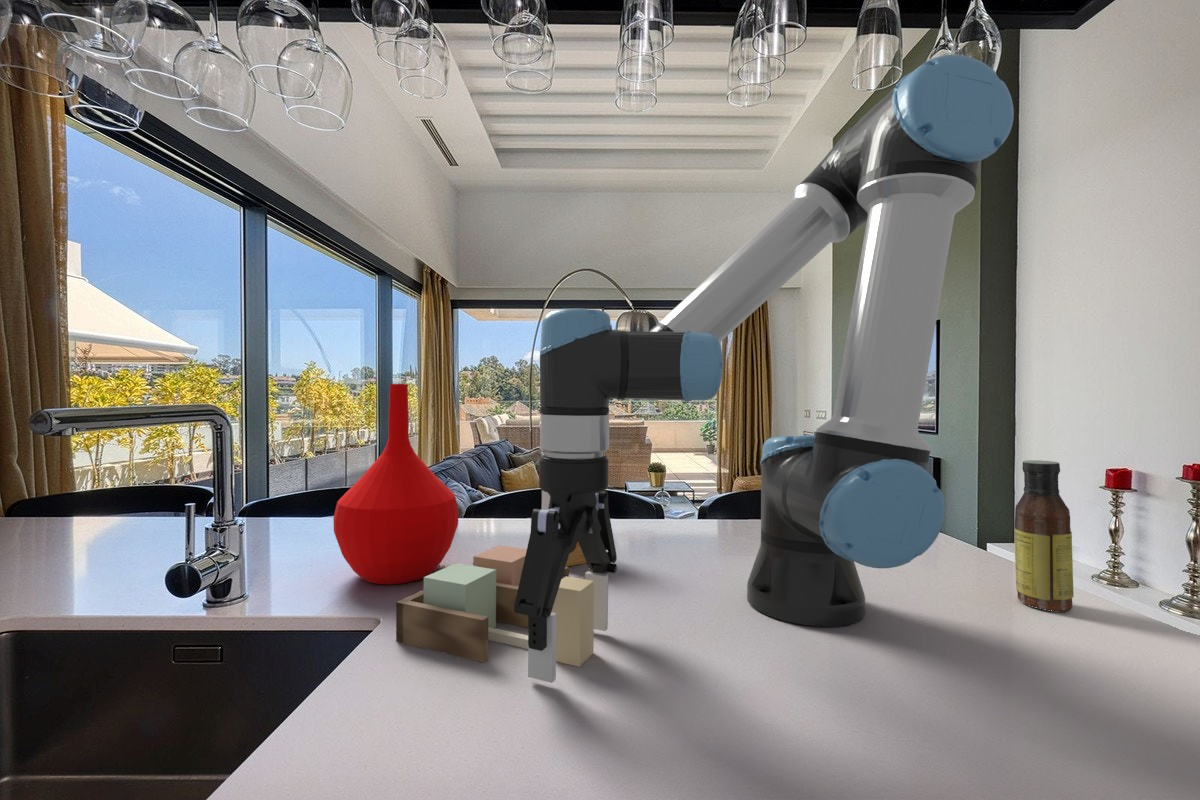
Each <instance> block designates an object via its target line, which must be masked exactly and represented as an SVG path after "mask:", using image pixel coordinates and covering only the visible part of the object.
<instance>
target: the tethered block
mask: <svg viewBox="0 0 1200 800" xmlns="http://www.w3.org/2000/svg"><path fill="white" fill-rule="evenodd" d="M423 590H424V604H428V605H433V606H438V607H443V608H448V609H452V610H457V611H462V612H467V613H472V614H477V615H482V616H486V617H488V641H492V642H495V643H500V644H504V643H505V645H509V646H513V647H517V648H523V649H526V650H528V635H527V634H522V633H517V632H515V631H514V632H513V631H508V630H504V629H500V628H496V627H497V621H496V569H490V568H484V567H477V566H473V565H470V564H464V563H458V562H456V563H453V564H451V565H449V566H446V567H444V568H441V569H439V570H437V571H435V572H433V573H432V572H431V573H430V574H429V575H427V576H425V577H424V578H423ZM552 613H556V663H557V662H558V663H562V664H566V665H569V666H570V665H571V666H575V667H578V668H580V667H581V666H583V664H584V663H585V662H586V661H587V660H588V659H589V658H590V657H591V656H592V655H593V654H594V643H595V642H594V633H595V631H594V630H595V629H594V581H592V580H586V579H585V578H578V577H572V576H569V577H567V576H566V577H564V578H563V579H561V582H560V586H559V589H558V592H557V595H556V599H555V602H554V605H553V608H552Z"/></svg>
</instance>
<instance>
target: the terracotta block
mask: <svg viewBox="0 0 1200 800" xmlns="http://www.w3.org/2000/svg"><path fill="white" fill-rule="evenodd" d="M526 551H527V548H521V547H514V546H507V545H500V544H499V545H497V546H494V547H492V548H490V549H487V550H485V551H483V552H480V553H478V554H476V555H473V557H472V558H473V559H472V560H473V561H472V562H473V563H472V564H473V565H472V566H477V567H484V568H490V569H496V582H497V583H503V584H509V585H514V586H519V583H520V578H521V574H522V569H523V565H524V560H525V556H526Z"/></svg>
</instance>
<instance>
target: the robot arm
mask: <svg viewBox="0 0 1200 800" xmlns="http://www.w3.org/2000/svg"><path fill="white" fill-rule="evenodd" d="M1014 112H1015V111H1014V104H1013V99H1012V95H1011V93H1010V91H1009V89H1008V86H1007V84H1006V82H1004V81H1003V80H1002V79H1001V78H999V76H998V75H997V72H996V71H995V70H994V69H993V68H992V67H990V66H989V65H988V64H987V63H985V62H983V61H981V60H979V59H976V58H974V57H971V56H968V55H964V54H963V55H962V54H944V55H939V56H936V57H934V58H930V59H929V60H927V61H925V62H923V63H922V64H921V65H919V66H918V67H917V68H916V69H914V70H913V71H911V72H909V73H907V74H905V75H904V76H903V77H902V78H901V79H899V81H898V82H897V84H896V85H895V86H894V87H893V89H891V91H890V92H889V93H887V94H886V95H885V96H884V97H883V98H882V99H881V100H880V101H879V102H878V103H877V102H876V104H875V105H874V106H873V107H871V108H870V109H869V110H868V111H867V112H865V114H864V115H863V116H862V117H861V118H860V119H859V120H858V121H856V122H855V123H854V124H852V125H851V127H850V128H848V130H846V132H844V134H843V135H842V136H841V137H840V139H839V140H838V141H836V143H835V144H834V146H833V147H832V148H831V149H830V151H829V152H828V153H827V154H826V156H825V157H824V158H823V159H822V160H821V161H820V162H819V163H818V165H817V166H815V168H814V169H813V170H812V171H811V173H810V174H809V175H807V176H806V177H805V178H804V179H803V180H802V181H801V182H800V183H799V184H798V185H797V186H796V187H795V188H794V189H793V191H792V193H791V201H790V202H789V203H788V204H787V205H785V207H784V208H783V209H782V210H780V211H779V212H778V213H777V214H776V215H775V216H774V217H773V218H772V219H770V220H769V221H768V222H767V223H766V224H765V225H764V226H763V227H762V228H761V229H760V230H758V231H757V232H756V233H755V234H754V235H753V236H752V237H751V238H749V240H747V241H746V242H745V243H744V244H743V245H742V246H741V247H740V248H739V249H738V250H736V251H735V252H734V253H733V254H732V255H731V256H730V257H729V258H728V259H726V261H724V263H723V264H721V265H720V266H719V267H717V269H716V270H714V272H712V273H711V274H710V275H709V276H708V277H707V278H706V279H705V280H703V281H702V282H701V283H700V284H699V285H698V286H697V287H696V288H694V289H693V290H692V291H691V292H690V293H689V294H688V295H687V296H686V297H685V298H684V299H683V300H681V302H680V303H678V304H677V305H676V306H675V307H674V308H673V309H672V310H670V311H669V313H667V315H665V316H664V317H663V318H661V320H659V322H657V324H656V325H655V326H653V327H652V328H651V329H650V330H649V331H625V330H619V329H613V326H612V324H611V317H610V315H609V314H608V313H607V312H606V311H603V310H600V309H587V308H575V307H574V308H560V309H555V310H552V311H549V312H548V313H547V314H546V315H545V316H544V317H543V319H542V321H541V335H540V348H539V349H540V351H539V413H540V414H539V415H540V416H539V419H540V420H539V423H538V429H539V449H540V450H541V451H542V452H545V453H544V454H543V455H541V456H540V458H539V459H538V487H539V489H540V490H541V491H542V490H543V491H545V492H547V493H548V494H549V495H550V502H549V507H548V510H542V508H533V510H532V511H531V518H530V534H529V538H528V543H527V546H526V547H527V548H526V549H527V551H526V556H525V560H524V565H523V569H522V574H521V578H520V583H519V587H518V592H517V596H516V601H515V605H514V612H515V613H518V614H523V615H527V616H528V628H527V629H528V630H527V632H528V649H527V652H528V653H527V654H528V655H527V677H528V678H532V679H535V680H540V681H544V682H548V683H552V684H553V683H554V682H555V681H556V678H557V662H556V613H552V608H553V605H554V602H555V599H556V595H557V592H558V589H559V586H560V582H561V579H562V576H563V573H564V569H565V566H566V563H567V560H568V556H569V554H570V553H571V552H573V551H574V550H575V548H576V545H577V542H579V545H580V547H581V550H582V552H583V555H584V557H585V559H586V562H587V563H586V564H587V567H588V569H589V570H590V571H589V570H588V571H586V572H585V573H584V574H585V575H584V579H586V580H592V581H594V630H597V631H603V632H606V631H607V630H608V628H609V627H608V625H609V574H608V573H610V574H616V572H617V569H618V568H617V567H618V565H617V563H616V561H617V550H616V545H615V540H614V533H613V528H612V522H611V517H610V516H611V515H610V511H609V493H608V491H607V489H608V487H609V459H608V457H607V456H606V455H604V453H606V452H607V451H608V450H610V414H609V413H610V407H609V405H610V400H620V401H621V400H643V401H644V400H645V401H684V402H686V403H688V402H692V401H709V400H712V399H713V398H714V397H716V396H717V394H718V392H719V390H720V387H721V384H722V380H723V379H722V378H723V372H724V371H723V369H724V368H723V367H724V363H723V362H724V358H723V357H724V356H723V351H722V346H721V342H722V341H723V340H725V338H727V337H728V336H729V335H730V334H731V333H732V332H734V330H736V328H738V327H739V326H740V325H741V324H742V323H743V322H745V320H747V319H748V318H750V317H749V316H751V315H752V314H753V313H754V312H755V311H756V310H757V309H758V308H760V307H761V306H762V305H763V304H764V303H766V301H767V300H769V298H771V297H772V296H773V295H774V294H776V292H777V291H778V290H780V289H781V288H782V287H783V286H784V285H785V284H786V283H787V282H788V281H789V280H791V278H793V277H794V276H795V275H797V274H798V272H799V271H801V270H802V269H803V268H804V267H805V266H806V265H808V263H809V262H811V260H812V259H814V258H815V257H816V256H817V255H818V254H819V253H820V252H821V251H823V250H824V249H825V248H826V247H827V246H828V245H829V244H832V243H834V244H837V243H841V242H843V241H845V239H847V238H848V237H849V236H850V235H851V234H852V233H853V232H854V231H855V230H857V229H858V228H860V227H861V226H862V225H865V228H864V229H865V230H864V235H863V241H862V246H861V247H862V248H861V253H860V257H859V265H858V268H857V270H858V271H857V276H856V281H855V289H854V293H853V299H852V306H851V310H850V311H851V312H850V317H849V320H848V321H849V322H848V329H847V334H846V338H845V339H846V340H845V344H844V351H843V357H842V363H841V368H840V369H841V370H840V373H839V375H840V376H839V381H838V386H837V393H836V397H835V405H834V409H833V410H834V411H833V413H832V414H833V415H832V416H831V418H830V419H829V420H827V421H826V422H824V423H823V424H822V425H820V426H819V427H817V428H816V431H815V434H813V435H793V436H791V435H789V436H787V435H786V436H774V437H769V438H767V439H766V440H765V441H764V442H763V445H762V451H761V452H762V453H761V458H760V468H761V471H760V472H761V473H760V475H761V478H760V479H761V480H760V489H761V490H760V543H759V544H760V546H759V548H758V551H757V554H756V557H755V560H754V562H753V565H752V568H751V571H750V574H749V577H748V580H747V586H746V588H747V589H746V592H747V593H746V599H747V602H748V603H749V605H750V606H751V607H753V608H754V609H755V610H756V611H758V612H760V613H762V614H764V615H767V616H769V617H772V618H774V619H777V620H781V621H785V622H788V623H792V624H798V625H804V626H813V627H815V626H816V627H842V626H847V625H848V626H849V625H852V624H855V623H858V622H860V621H861V620H863V619H864V618H865V615H866V594H865V591H864V589H863V585H862V583H861V579H860V575H859V573H858V569H857V567H856V564H855V563H857V564H859V565H861V566H864V567H868V568H872V569H891V568H892V569H894V568H897V567H901V566H904V565H907V564H908V563H911V561H913V560H914V559H916V558H917V557H920V556H922V555H923V554H925V553H926V551H928V549H930V548H931V546H932V545H933V544H934V543H935V541H936V539H937V538H938V537H939V534H940V532H941V530H942V527H943V524H944V521H945V515H946V506H945V498H944V494H943V492H942V490H941V489H940V488H939V487H938V485H937V481H936V479H935V478H934V476H932V474H930V473H929V472H928V465H929V460H930V454H931V447H930V445H929V444H928V443H927V442H926V440H925V439H924V438H923V437H922V436H921V434H920V433H919V430H918V429H919V424H920V423H919V422H920V417H921V411H922V407H923V406H922V405H923V399H924V394H925V389H926V382H927V376H928V371H929V367H930V366H929V365H930V359H931V355H932V354H931V353H932V348H933V343H934V336H935V331H936V324H937V319H938V313H939V308H940V301H941V297H942V296H941V295H942V290H943V289H942V288H943V284H944V279H945V273H946V269H947V268H946V265H947V262H948V257H949V249H950V243H951V240H952V239H951V238H952V233H953V227H954V221H955V216H956V214H957V213H958V212H960V211H961V210H963V209H964V208H965V207H966V206H968V205H970V204H971V203H972V202H973V200H974V199H975V193H976V189H977V185H978V184H977V183H978V179H979V173H980V166H981V162H982V160H984V159H988V157H990V156H992V155H993V154H995V153H996V152H997V151H998V149H999V148H1000V147H1001V146H1002V145H1003V144H1004V142H1005V141H1006V140H1007V138H1008V137H1009V135H1010V133H1011V130H1012V128H1013V125H1014V124H1013V123H1014V117H1015V116H1014V115H1015V114H1014Z"/></svg>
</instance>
